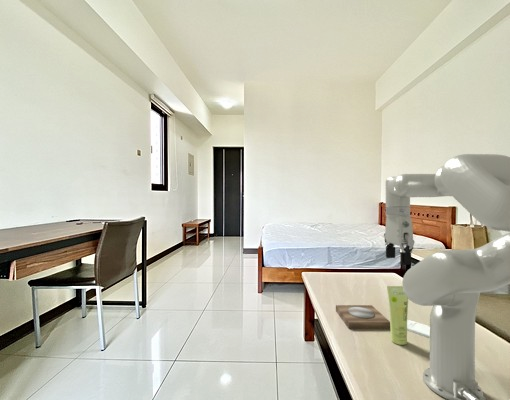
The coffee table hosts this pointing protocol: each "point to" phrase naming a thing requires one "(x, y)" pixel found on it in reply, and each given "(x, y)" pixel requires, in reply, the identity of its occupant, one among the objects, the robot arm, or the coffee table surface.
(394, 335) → the tube
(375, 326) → the walnut base
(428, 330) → the external hard drive
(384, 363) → the coffee table surface
